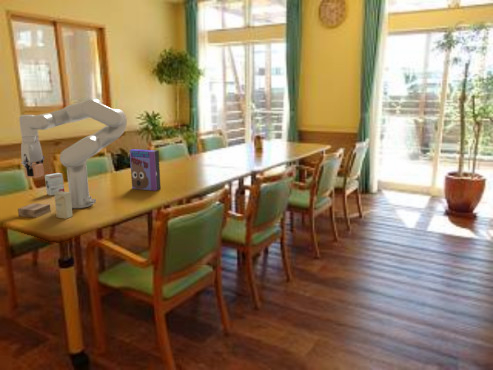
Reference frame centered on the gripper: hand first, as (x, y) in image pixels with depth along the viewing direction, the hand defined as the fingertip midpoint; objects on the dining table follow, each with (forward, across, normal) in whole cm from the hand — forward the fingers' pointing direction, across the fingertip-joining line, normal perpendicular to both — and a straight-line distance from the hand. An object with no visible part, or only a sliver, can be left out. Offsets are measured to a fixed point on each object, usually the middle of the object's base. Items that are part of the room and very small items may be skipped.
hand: (35, 174), depth 208 cm
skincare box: (+18, +12, +24) cm, 32 cm away
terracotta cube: (+1, 0, 0) cm, 1 cm away
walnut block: (+18, +11, +6) cm, 22 cm away
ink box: (+18, -26, -10) cm, 33 cm away
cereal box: (+18, -47, +38) cm, 63 cm away
